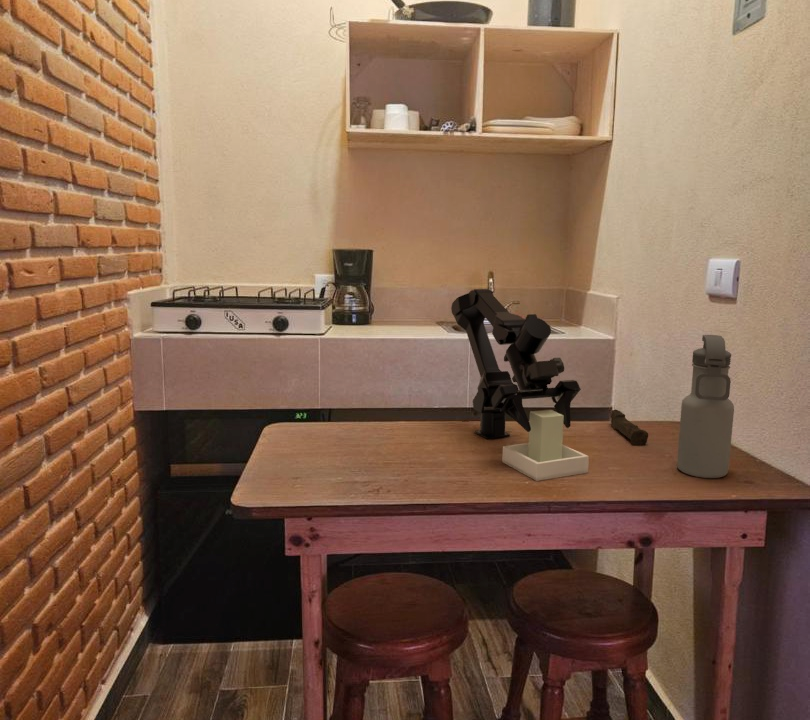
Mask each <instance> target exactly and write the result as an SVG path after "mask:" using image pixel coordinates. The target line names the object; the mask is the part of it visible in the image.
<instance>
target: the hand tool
mask: <svg viewBox="0 0 810 720" xmlns="http://www.w3.org/2000/svg"><path fill="white" fill-rule="evenodd" d="M610 423H611V424H610V425H611V427H612V428H613V430H614V431H619V432H620V433H621V434H622V435H624V436H625V437H626V438H627V439H629V441H630V443H631V445H632V446H645V445H646V444H647V443H648V438H649V432H648V431H647V430H644V429H641V428H640V427H639V426H638V425H636V424H633V423H632V422H631V421H630V420H629V419H627V418H626V414H625V413H623V412H622V411H621V410H618V409H615V408H614V409H613V410H611V412H610Z"/></svg>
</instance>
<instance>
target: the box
mask: <svg viewBox="0 0 810 720" xmlns="http://www.w3.org/2000/svg"><path fill="white" fill-rule="evenodd" d="M528 447H529V442H525V443H516V444H511V445H503V446H502V461H501V462H502V463H503V464H506V465H507V466H509V467H511V468H512V469H514V470H516V471H517V472H519V473H521V474H522V475H523V474H524V475H525V476H526V477H528V478H530V479H532V480H534V481H536V482H539V481H545V480H552V479H557V478H561V477H562V478H564V477H569V476H574V475H575V476H577V475H581V474H588V472H589V461H590V460H589V459H590V457H589V455H587V454H585V453H583V452H580V451H578V450H575V449H573V448H571V447H569V446H567V445H565V444H562V459H557V460H550V461H544V462H537V461H535V460H533V459H531V458H529V457H528Z"/></svg>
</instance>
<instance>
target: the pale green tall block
mask: <svg viewBox="0 0 810 720" xmlns="http://www.w3.org/2000/svg"><path fill="white" fill-rule="evenodd" d="M563 420H564V415H561V414H559V413H557V411H554V410H553V409H543V410H534V411H532V410H531V411H529V423H530V427H531V430H530V432H528V443H529V447H528V457H529V458H531V459H533V460H535V461H537V462H544V461H550V460H557V459H562V445H563V441H564V438H563V437H564V424H563Z"/></svg>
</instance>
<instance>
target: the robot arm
mask: <svg viewBox="0 0 810 720" xmlns="http://www.w3.org/2000/svg"><path fill="white" fill-rule="evenodd" d="M450 308H451V314H452V316H453V317H454V320H455V321H456V324H457V325H458V326H459V327H460V328H462V329H463V330H464V331H465V332H466V335H467V338H468V342H469V345H470V348H471V351H472V353H473V354H472V355H473V357H474V360H475V364H476V366H477V369H478V373H479V376H480V379H479V383H478V386H477V392H476V394H475V396H474V398H473V399H472V406H473V407H472V408H473V410H474V411H476V412H477V413H480V419H479V420H480V423H479V425H480V426H479V429H476V430H475V429H474V433H475V434H477V435H479V436H480V437H482V438H485V439H486V440H491V439H498V438H507V437H510V436H511V433H509V432H507V431H506V415H507V416H509V417H510V418H511V419H513V420H514V421H515V422H516V423H518V425H520V427H522V428H523V429H524V430H525V431H526V432H528V433H529V432H530V430H531V427H530V423H529V421H530V419H529V418H528V416H527V412H526V411H525V408H524V406H523V400H527V399H528V400H533V399H543V398H550V399H551V400H552V402H553V403H555V404H554V405H553V407H554V409H555V410H556V411H555V412H557V413H559V414H561V415H564V420H563V426H565V428H566V429H569V428H570V427H571V404H572V401H573V400H574V399H575V398H576V396H577V395H578V393H580V391H581V390H582V388H581V386H580V384H579V382H578V381H577V380H574V379H568V380H566V379H565V380H559V381H558V383H557V384H556V385H555V387H548V385H550V384H552V382H553V380H552V378H555V377H558V376H560V374H561V373H564V371H565V364H564V362H563V360H562V358H561V357H553V358H552V359H549V360H541V361H538V360H537V357H536V355H535V354H538V353H539V352H540V351H541V350H542V348H543V347H544V345H545V343H546V342H547V340H548V339H549V337H550V335H551V333H552V328H551V326H550V325H549V324H548V323H547V322H546V321H545V320H543V319H541V318H539V317H538V316H537V314H536V313H533V314H527V315H526V317H525V318H523V317H522V316H520V315H518V314H514V313H512V312H509V311H508V309H506V307H504V305H503V304H502V303H501V302H500V301H499V300H498V299H497V298H496V296H494V293H493V291H492V290H491V289H489V288H474V289H471V290H470V291H469V292H468V293H465V294H463V295H460V296H458V297H456V299H454V301H453V302H452V303H451V307H450ZM485 319H486V321H488V322H489V324H490V325H491V327H492V332H491V334H492V336H493V337H494V338H493V339H495V341H496V343H497V344H498V345H500V346H502V345H507V346H508V347H507V349H506V350H505V354H504V357H503V361H504V362H505V363H506V362H508V363H509V365H510V368H511V370H512V373H513V376H512V378H511V374H510V373H509V372H508V371H507V370H503V371H502V370H501V369H500V368H499V364H498V361H497V358H496V354H495V353H494V350H493V346H492V344H491V341H490V338H489V335H488V333H487V329H486V326H485ZM515 383H516V384H515Z"/></svg>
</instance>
